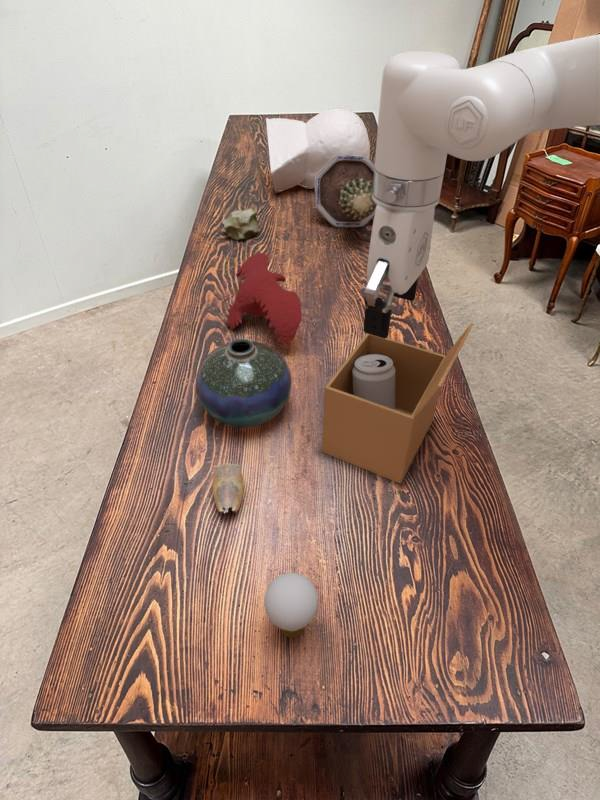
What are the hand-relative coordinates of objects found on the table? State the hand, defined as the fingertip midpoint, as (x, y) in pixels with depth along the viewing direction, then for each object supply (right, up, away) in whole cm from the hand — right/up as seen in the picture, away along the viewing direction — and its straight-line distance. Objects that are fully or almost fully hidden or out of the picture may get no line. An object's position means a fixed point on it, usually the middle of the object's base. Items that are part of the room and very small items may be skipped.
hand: (389, 315), depth 71 cm
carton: (+1, -17, +15) cm, 23 cm away
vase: (-21, -13, +20) cm, 32 cm away
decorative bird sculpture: (-21, +5, +39) cm, 44 cm away
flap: (+7, -7, +1) cm, 10 cm away
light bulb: (-13, -38, -8) cm, 41 cm away
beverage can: (0, -16, +15) cm, 22 cm away
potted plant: (+1, +34, +70) cm, 78 cm away
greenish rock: (-27, +31, +67) cm, 79 cm away
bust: (-7, +52, +90) cm, 104 cm away
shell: (-22, -26, +6) cm, 34 cm away
